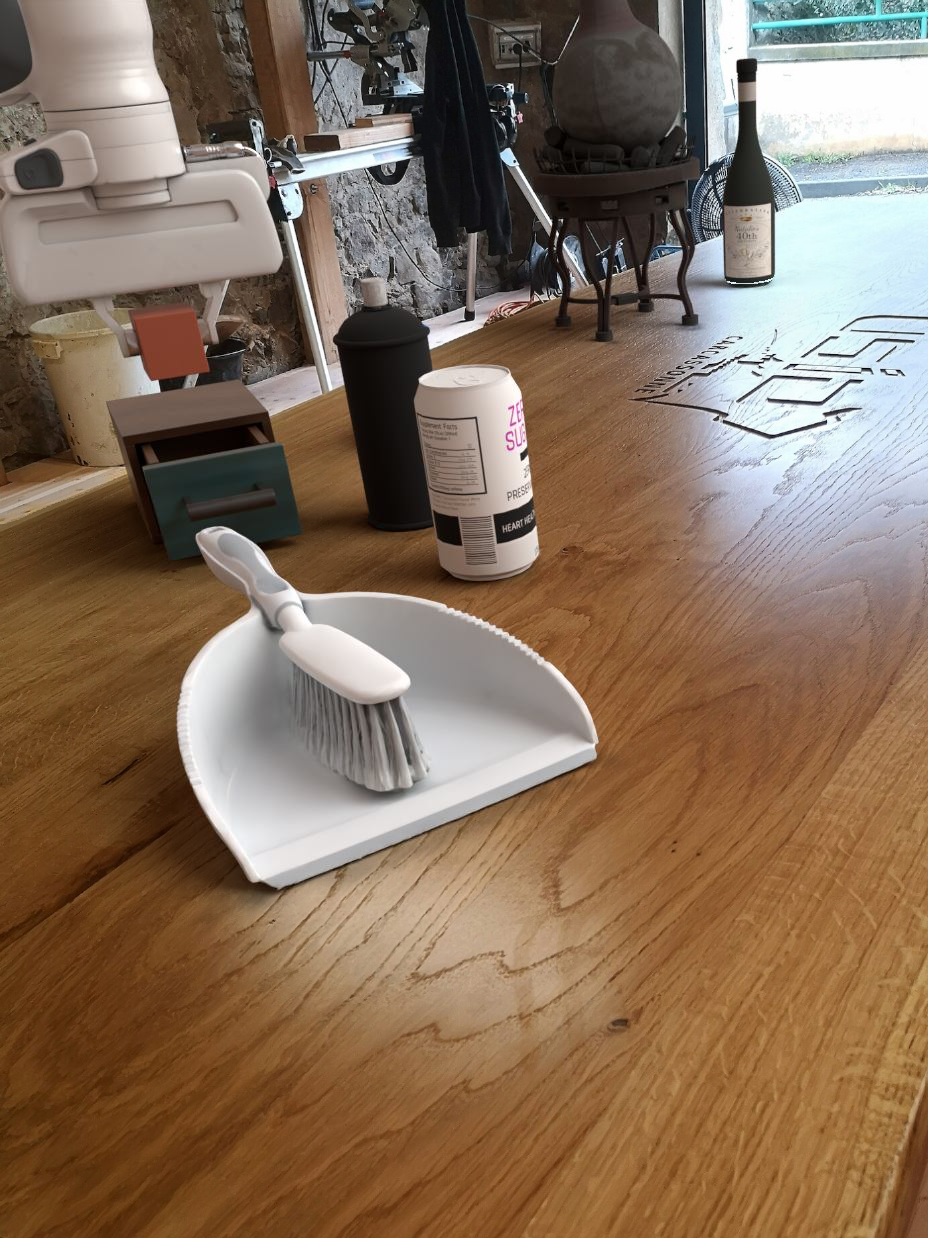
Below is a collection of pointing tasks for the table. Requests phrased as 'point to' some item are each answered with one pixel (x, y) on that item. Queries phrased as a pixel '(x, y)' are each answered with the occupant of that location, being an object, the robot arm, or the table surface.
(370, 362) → the aerosol can
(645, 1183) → the table surface
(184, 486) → the drawer
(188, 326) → the block
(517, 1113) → the table surface
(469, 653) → the dustpan and brush
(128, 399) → the cabinet
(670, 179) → the brazier
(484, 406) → the supplement can
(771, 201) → the wine bottle
